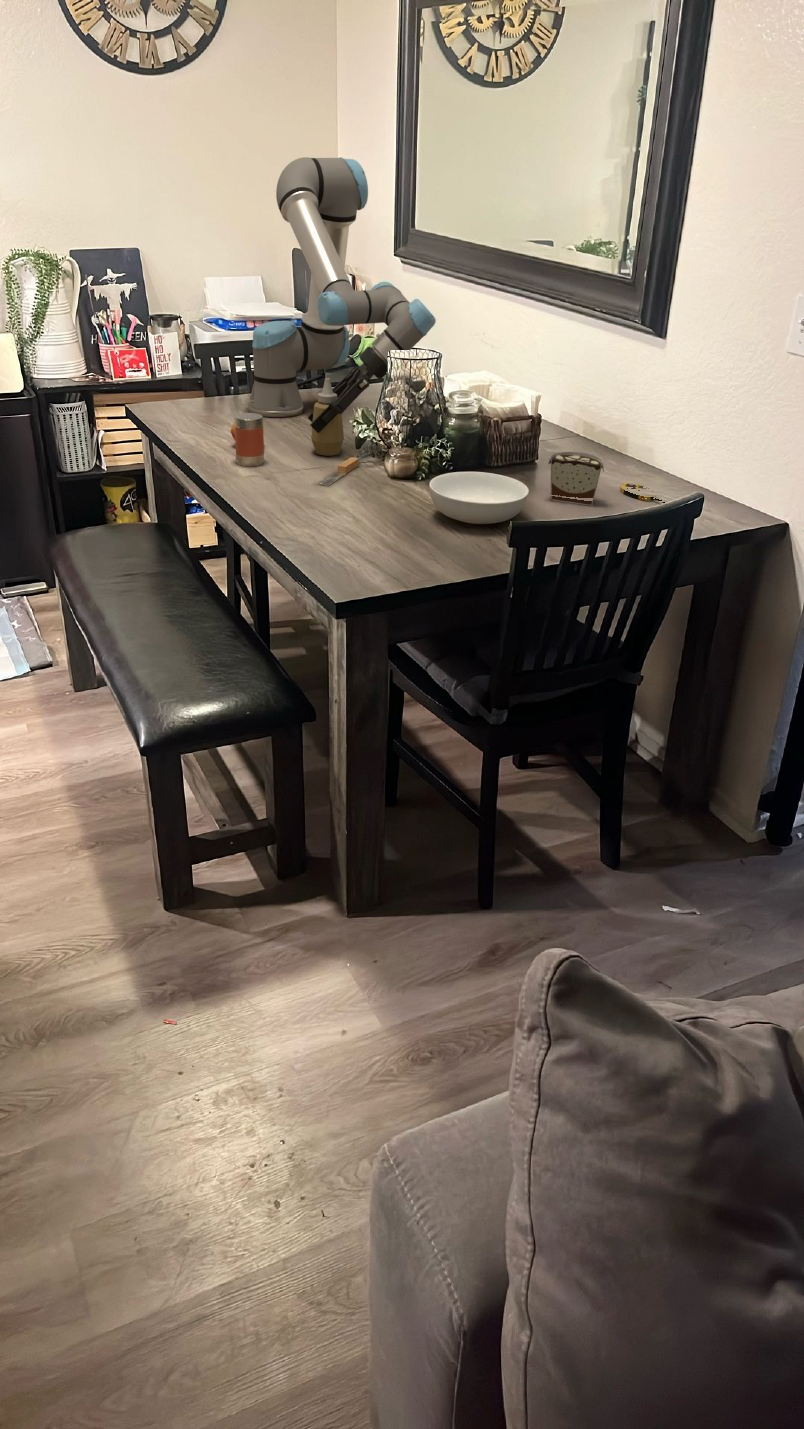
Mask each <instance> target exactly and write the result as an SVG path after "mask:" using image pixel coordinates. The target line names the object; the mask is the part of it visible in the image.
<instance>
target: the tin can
mask: <svg viewBox="0 0 804 1429" xmlns="http://www.w3.org/2000/svg"><path fill="white" fill-rule="evenodd" d="M233 417H234V418H233V419H234V423H235V440H234V444H235V445H234V447H235V463H236V465H239V466H241V467H259V466H262V465H264V464H265V441H264V438H265V437H264V434H265V432H264V416H262V415H260V414H257V413H250V412H240V413H236V414H235V415H234V416H233Z"/></svg>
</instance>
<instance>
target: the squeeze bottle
mask: <svg viewBox="0 0 804 1429" xmlns="http://www.w3.org/2000/svg"><path fill="white" fill-rule="evenodd" d="M332 389H333V387H332V382H331V378H329V377H326V378H324V383H323V387H322V392H318V393H317V402H315V404H314V405H313V411H314V412H313V411H312V412H313V421H314V420H315V419H316V418H317V417H318V416H319V415H320V414H321V413H322V412H323V411H324V410H325V409H326V408H327V407H328V406H329V405H328V404H329V403H331V404H333V403H334V401H335V400H336V399H337V394H336V393H333V391H332ZM310 434H311V435H310V440H311V443H312V446H313V448H314V452H315V454H317V455H319V456H324V457H325V456H326V457H327V456H328V457H329V456H330V457H331V456H337V455H339V454H340V452H341V449H342V446H343V443H344V440H345V436H344V424H343V413H342V414H337V415H336V416H335V417H334V418H333V419H332V420H331V421H330V422H329V423H328V424H327V425H326V426H325V427H324V428H323V429H322V430H321V431H320V432H319V433H317V432H316V431H315V430H314V429H313V428H312V427H311V433H310Z"/></svg>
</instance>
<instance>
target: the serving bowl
mask: <svg viewBox="0 0 804 1429" xmlns="http://www.w3.org/2000/svg"><path fill="white" fill-rule="evenodd" d="M428 488H429V495H430V499H431V501H432V503H433V505H434V506H435V508H436V509H437V510H438V511H439V513H441V514H443V515H444V516H446V517H448V518H450V519H452V520H455V521H459V522H463V523H466V524H470V525H471V524H472V525H491V524H497V523H502V522H505V521H508V520H511V519H512V518H514V517H516V516H517V515H518V514H519V513H521V511H522V510H523V509H524V507H525V505H526V503H527V501H528V497H529V494H530V490H529V487H528V486H527V485H526V484H525V483H524V482H522V481H520V480H519V479H516V478H513V477H510V476H506V475H502V474H497V473H492V472H484V471H483V472H482V471H456V472H447V473H443V474H440V475H437V476H435V477H433V478H432V479H431V480H430V481H429V484H428Z"/></svg>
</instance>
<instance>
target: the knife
mask: <svg viewBox="0 0 804 1429" xmlns="http://www.w3.org/2000/svg"><path fill="white" fill-rule="evenodd" d="M359 466H360V458H358V457H353V456H351V457H349V458H348V459H346V460H344V461H342V462H341V463H340V464H338V465H337V471H335V473H333V474H331V475H330V476H328V477H327V478H325V479H323V480H322V481H320V482H319V483H318V485H319V486H326V487H329V486H331V485H333V484H334V483H336V482H337V481H339V480H340V479H342V478H343V477H345V476H346V475H347V474H348V473H349V472H351V471H353V470H354V469H356V468H357V467H359Z"/></svg>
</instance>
